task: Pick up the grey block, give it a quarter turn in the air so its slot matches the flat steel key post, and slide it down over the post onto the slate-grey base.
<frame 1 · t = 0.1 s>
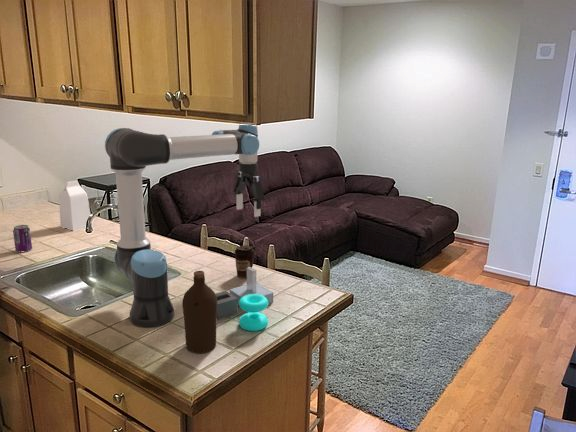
hand: (248, 212, 203), 28 cm above the worktop, tool pointing down, fingers open, 13 cm apart
grey block: (222, 312, 176), on the worktop
donuts: (253, 325, 167), on the worktop
key post: (251, 280, 183), on the base, point 8 cm above the worktop
milk: (76, 227, 271), on the worktop
base: (251, 300, 186), on the worktop
olive oil: (201, 346, 154), on the worktop
beverage can: (24, 250, 233), on the worktop
coffee cup: (244, 276, 209), on the worktop
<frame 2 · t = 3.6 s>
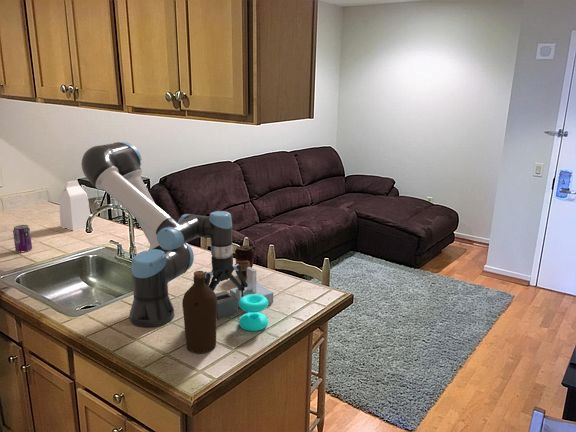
hand: (224, 311, 176), 0 cm above the worktop, tool pointing down, fingers open, 12 cm apart
nothing on the worktop moved.
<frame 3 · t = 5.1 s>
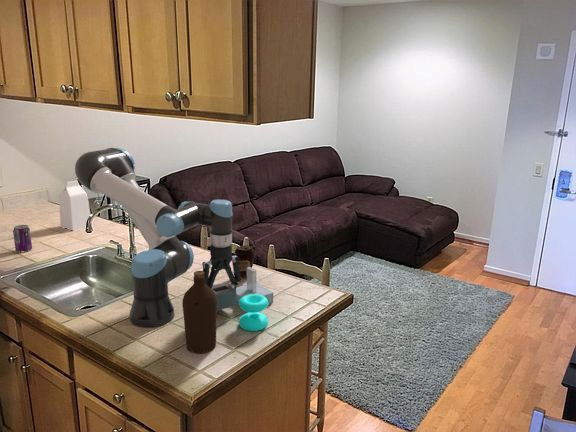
hand: (220, 303, 175), 3 cm above the worktop, tool pointing down, fingers closed on grey block, 8 cm apart
grey block: (220, 303, 175), point 3 cm above the worktop, touching gripper
everything else where it was.
when the fingers open (5 cm above the worktop, at t = 10.8 s): grey block stays where it is, resting on base.
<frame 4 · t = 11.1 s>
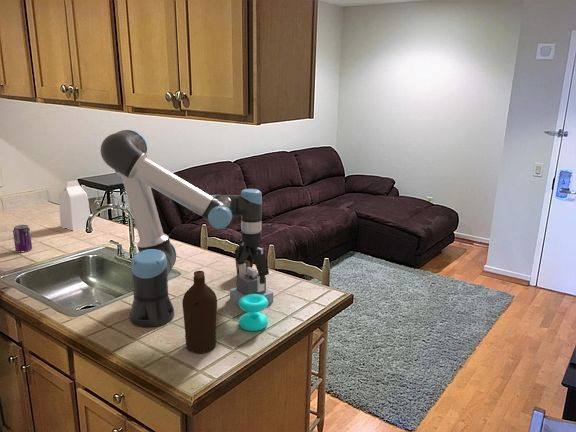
hand: (251, 285, 184), 6 cm above the worktop, tool pointing down, fingers open, 12 cm apart
grey block: (251, 291, 184), point 4 cm above the worktop, touching base
everything else where it was.
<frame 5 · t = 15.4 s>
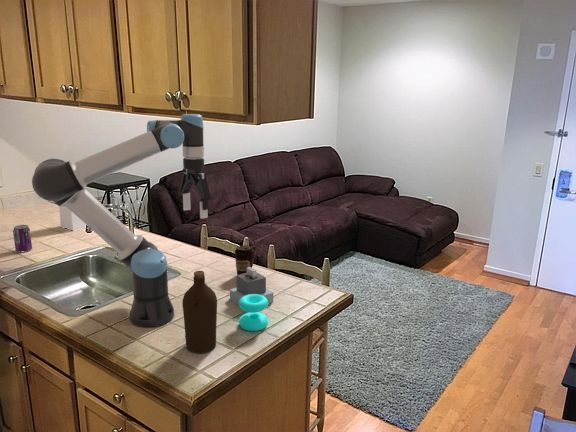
hand: (195, 214, 181), 33 cm above the worktop, tool pointing down, fingers open, 13 cm apart
nothing on the worktop moved.
at the end: grey block 0.1 cm off-centre on the base, point 4.0 cm above the base's base; grey block tilted 0°; the gripper is holding nothing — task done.
